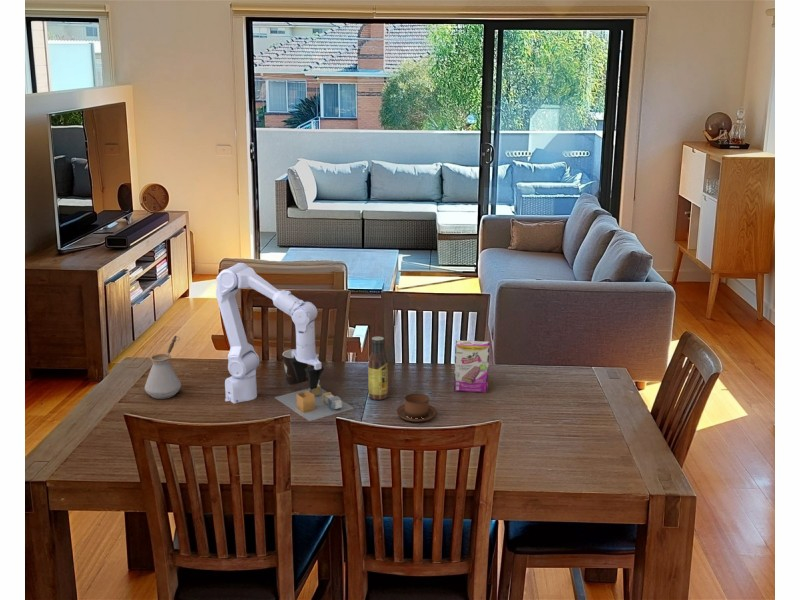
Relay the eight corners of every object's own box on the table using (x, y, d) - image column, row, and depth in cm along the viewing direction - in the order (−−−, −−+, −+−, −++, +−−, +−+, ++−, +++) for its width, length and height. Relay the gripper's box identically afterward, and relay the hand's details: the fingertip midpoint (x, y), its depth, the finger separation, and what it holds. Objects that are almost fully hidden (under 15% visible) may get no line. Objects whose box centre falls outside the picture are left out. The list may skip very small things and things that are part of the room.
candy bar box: (453, 392, 286) (454, 344, 282) (454, 386, 291) (455, 339, 286) (488, 393, 285) (489, 346, 281) (488, 387, 290) (489, 340, 285)
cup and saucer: (391, 411, 272) (391, 393, 270) (427, 406, 276) (427, 388, 274) (405, 427, 261) (405, 408, 259) (442, 421, 265) (442, 402, 263)
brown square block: (303, 413, 267) (302, 397, 265) (296, 408, 270) (296, 393, 268) (314, 410, 269) (314, 394, 268) (308, 405, 272) (307, 390, 271)
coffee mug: (307, 386, 291) (306, 358, 288) (281, 386, 291) (280, 357, 288) (311, 373, 302) (311, 346, 299) (286, 373, 302) (285, 345, 299)
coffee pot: (174, 402, 278) (171, 357, 274) (139, 400, 280) (135, 356, 275) (196, 377, 299) (193, 335, 294) (163, 375, 300) (159, 334, 296)
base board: (309, 425, 262) (309, 421, 261) (274, 401, 279) (274, 397, 278) (354, 412, 271) (354, 408, 270) (317, 390, 288) (317, 386, 287)
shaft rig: (334, 412, 267) (334, 401, 266) (301, 391, 283) (300, 381, 282) (349, 408, 270) (349, 397, 269) (316, 387, 286) (316, 377, 285)
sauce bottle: (385, 401, 279) (385, 342, 273) (366, 400, 280) (365, 341, 274) (389, 393, 285) (389, 335, 279) (371, 392, 286) (370, 334, 280)
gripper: (329, 346, 263) (330, 388, 267) (304, 334, 274) (306, 374, 278) (309, 351, 259) (310, 394, 263) (284, 338, 270) (286, 379, 274)
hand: (307, 384), depth 270 cm, fingers open, 7 cm apart
